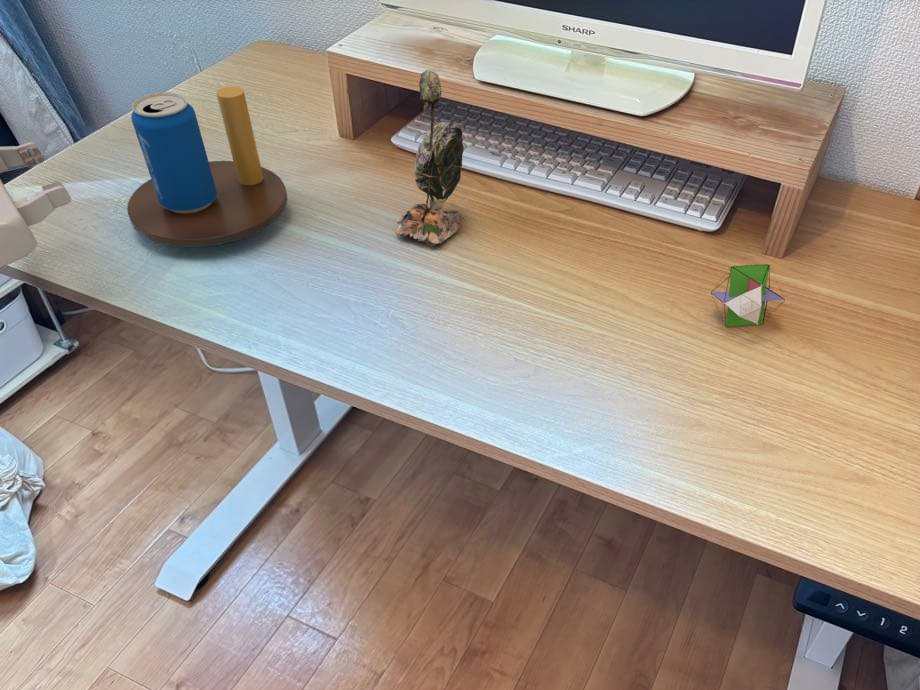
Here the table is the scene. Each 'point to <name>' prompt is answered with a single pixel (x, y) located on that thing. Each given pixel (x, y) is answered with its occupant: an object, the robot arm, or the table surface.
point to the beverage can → (174, 152)
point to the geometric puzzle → (747, 295)
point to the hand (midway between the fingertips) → (53, 170)
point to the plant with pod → (434, 173)
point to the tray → (218, 191)
